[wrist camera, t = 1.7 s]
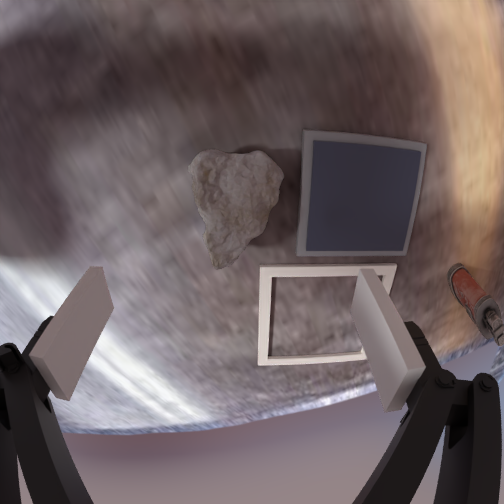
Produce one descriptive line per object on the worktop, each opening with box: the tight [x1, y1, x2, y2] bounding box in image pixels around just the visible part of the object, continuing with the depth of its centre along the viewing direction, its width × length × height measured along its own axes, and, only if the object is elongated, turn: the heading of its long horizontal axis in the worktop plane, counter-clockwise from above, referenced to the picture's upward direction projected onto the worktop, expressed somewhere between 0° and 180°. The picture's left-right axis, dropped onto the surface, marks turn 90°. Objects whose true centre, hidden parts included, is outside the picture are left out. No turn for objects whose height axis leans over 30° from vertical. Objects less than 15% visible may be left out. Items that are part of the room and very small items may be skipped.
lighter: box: [447, 263, 504, 346], centre depth 29 cm, size 8×3×10 cm, turn 44°
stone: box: [188, 149, 284, 269], centre depth 26 cm, size 10×8×6 cm
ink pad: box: [295, 129, 427, 256], centre depth 28 cm, size 12×12×1 cm
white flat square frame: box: [258, 263, 397, 365], centre depth 35 cm, size 15×15×1 cm
